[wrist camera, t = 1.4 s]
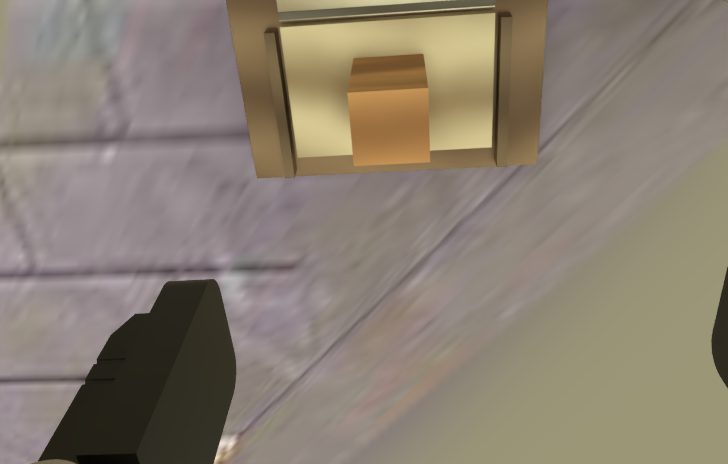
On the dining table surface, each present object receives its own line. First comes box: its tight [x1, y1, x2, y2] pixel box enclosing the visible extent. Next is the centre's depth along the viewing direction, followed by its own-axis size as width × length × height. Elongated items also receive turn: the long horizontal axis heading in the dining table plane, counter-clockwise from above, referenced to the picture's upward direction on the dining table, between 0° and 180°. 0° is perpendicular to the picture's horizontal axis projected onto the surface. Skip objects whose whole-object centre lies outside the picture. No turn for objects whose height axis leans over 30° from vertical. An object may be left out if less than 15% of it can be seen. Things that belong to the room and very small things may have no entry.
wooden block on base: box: [280, 10, 495, 166], centre depth 36 cm, size 8×12×7 cm, turn 94°
